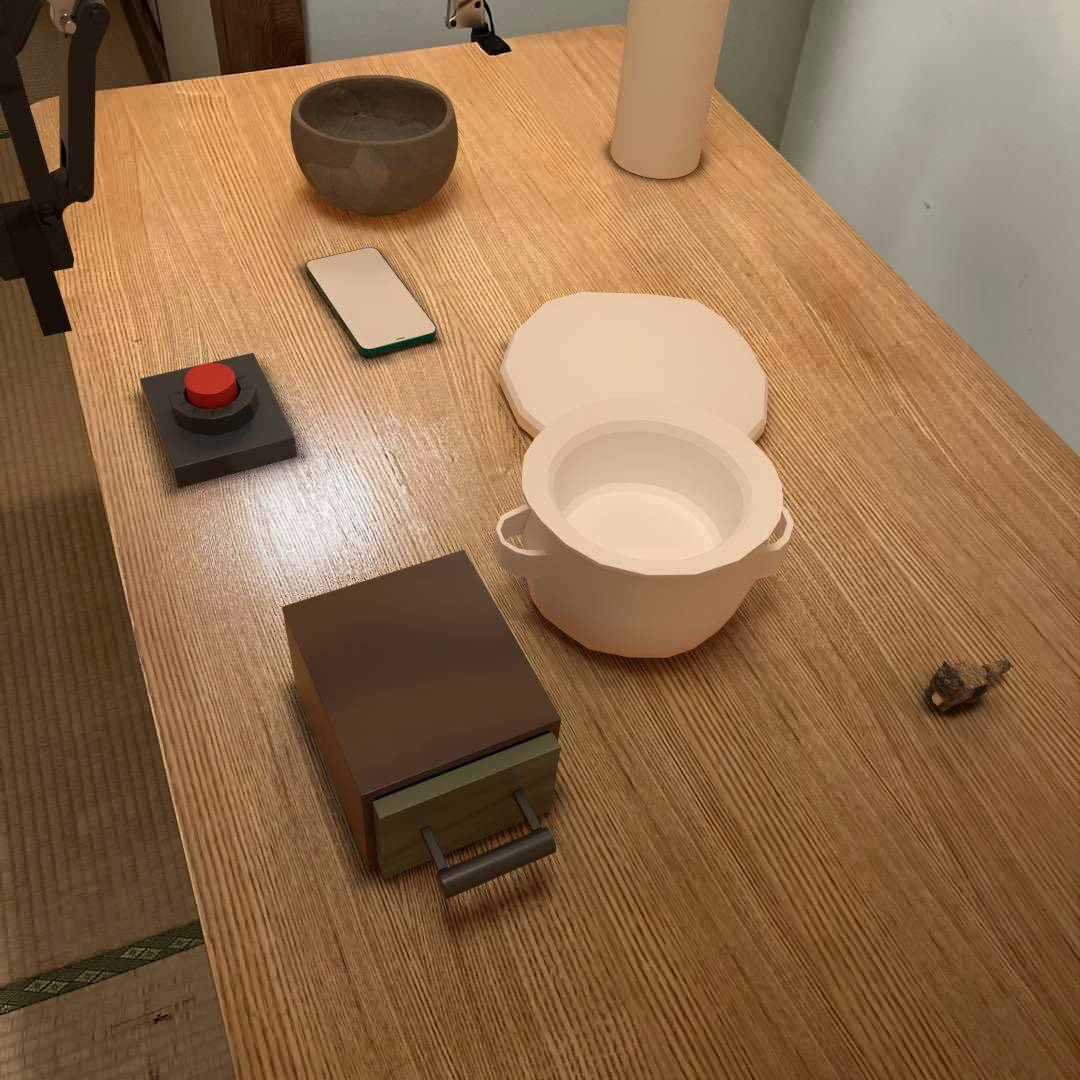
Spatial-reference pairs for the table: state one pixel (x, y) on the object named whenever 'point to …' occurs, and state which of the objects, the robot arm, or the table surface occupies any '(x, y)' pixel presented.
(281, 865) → the table surface
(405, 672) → the cabinet
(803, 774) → the table surface
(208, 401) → the button
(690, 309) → the decorative plate
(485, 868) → the drawer
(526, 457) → the pot
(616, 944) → the table surface
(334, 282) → the smartphone
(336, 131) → the bowl
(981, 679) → the cat figurine
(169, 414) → the button block
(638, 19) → the tall pillar cylinder
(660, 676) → the table surface
